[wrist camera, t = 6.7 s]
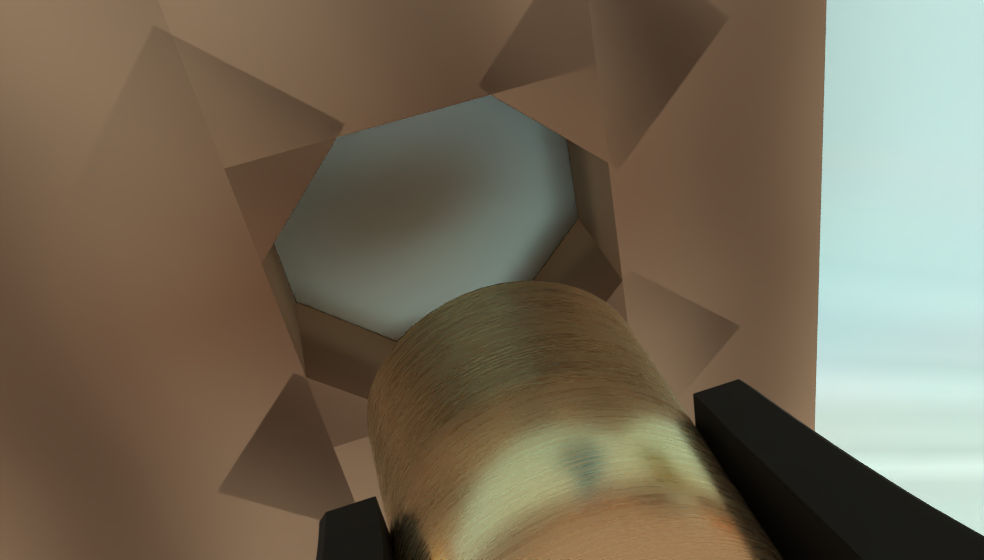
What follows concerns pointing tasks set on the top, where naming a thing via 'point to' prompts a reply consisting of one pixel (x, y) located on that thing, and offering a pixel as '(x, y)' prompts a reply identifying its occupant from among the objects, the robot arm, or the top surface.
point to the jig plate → (278, 188)
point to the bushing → (544, 440)
